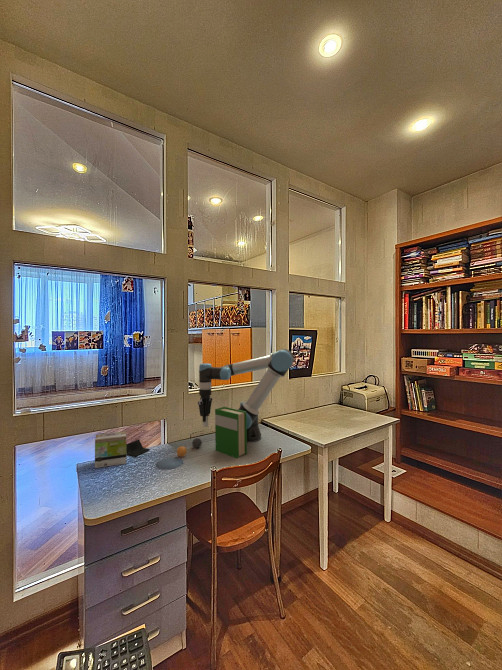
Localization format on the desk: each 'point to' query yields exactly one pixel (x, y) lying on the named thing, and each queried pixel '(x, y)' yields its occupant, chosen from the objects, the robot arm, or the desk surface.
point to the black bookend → (135, 448)
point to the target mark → (169, 463)
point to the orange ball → (181, 451)
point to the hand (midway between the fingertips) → (205, 426)
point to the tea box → (110, 449)
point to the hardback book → (231, 431)
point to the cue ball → (196, 443)
